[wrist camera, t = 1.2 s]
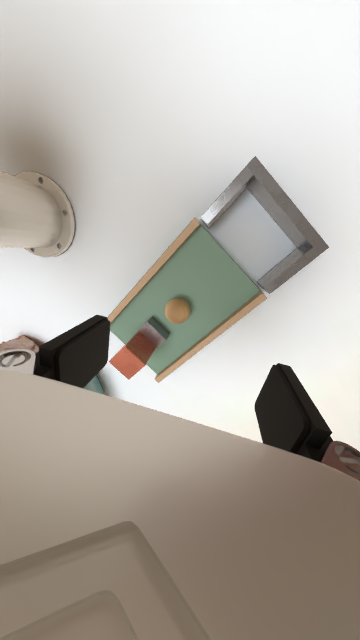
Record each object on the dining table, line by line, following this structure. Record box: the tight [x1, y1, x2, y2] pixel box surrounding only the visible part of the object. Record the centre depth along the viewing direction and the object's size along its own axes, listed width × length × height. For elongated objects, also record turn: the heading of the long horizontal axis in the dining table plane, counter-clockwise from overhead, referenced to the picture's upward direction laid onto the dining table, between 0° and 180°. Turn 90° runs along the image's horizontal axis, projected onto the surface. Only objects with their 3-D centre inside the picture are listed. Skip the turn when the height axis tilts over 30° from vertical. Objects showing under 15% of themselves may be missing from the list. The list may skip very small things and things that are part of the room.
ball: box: [165, 298, 190, 324], centre depth 30 cm, size 4×4×4 cm
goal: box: [201, 156, 329, 294], centre depth 26 cm, size 8×13×5 cm, turn 44°
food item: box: [0, 335, 40, 353], centre depth 41 cm, size 14×8×10 cm, turn 154°
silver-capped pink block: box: [109, 316, 170, 379], centre depth 31 cm, size 7×4×8 cm, turn 134°
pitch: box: [107, 218, 267, 383], centre depth 33 cm, size 24×15×3 cm, turn 134°
